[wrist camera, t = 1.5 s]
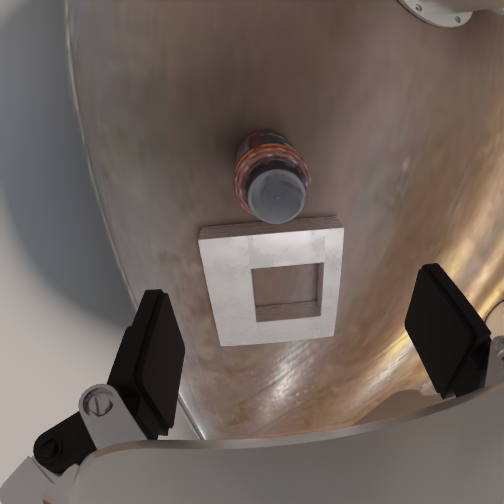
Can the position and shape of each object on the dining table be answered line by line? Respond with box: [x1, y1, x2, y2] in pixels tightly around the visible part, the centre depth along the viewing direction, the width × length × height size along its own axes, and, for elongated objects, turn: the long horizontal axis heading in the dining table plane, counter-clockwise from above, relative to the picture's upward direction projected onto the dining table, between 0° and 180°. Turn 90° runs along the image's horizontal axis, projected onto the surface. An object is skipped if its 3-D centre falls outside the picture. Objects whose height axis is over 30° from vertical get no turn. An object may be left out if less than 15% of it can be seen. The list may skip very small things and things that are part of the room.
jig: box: [198, 216, 344, 346], centre depth 36 cm, size 15×16×3 cm
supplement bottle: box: [234, 131, 311, 224], centre depth 25 cm, size 6×6×11 cm
